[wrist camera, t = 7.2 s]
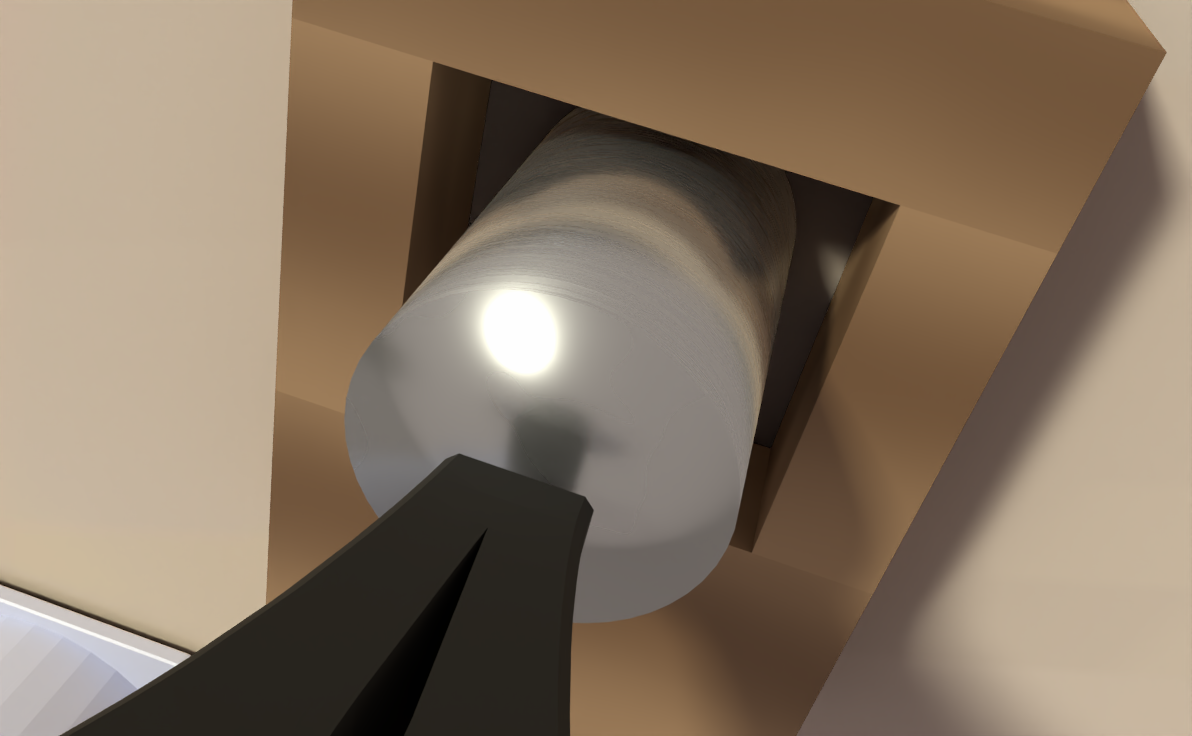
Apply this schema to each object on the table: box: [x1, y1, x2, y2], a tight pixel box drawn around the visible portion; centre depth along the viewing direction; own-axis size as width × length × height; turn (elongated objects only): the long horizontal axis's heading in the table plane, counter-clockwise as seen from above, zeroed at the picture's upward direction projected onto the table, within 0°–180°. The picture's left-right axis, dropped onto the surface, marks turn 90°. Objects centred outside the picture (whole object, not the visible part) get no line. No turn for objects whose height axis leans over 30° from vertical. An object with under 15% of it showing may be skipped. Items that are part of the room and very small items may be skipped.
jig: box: [266, 0, 1166, 736], centre depth 15 cm, size 13×9×2 cm
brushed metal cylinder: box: [344, 106, 796, 623], centre depth 13 cm, size 4×4×6 cm
